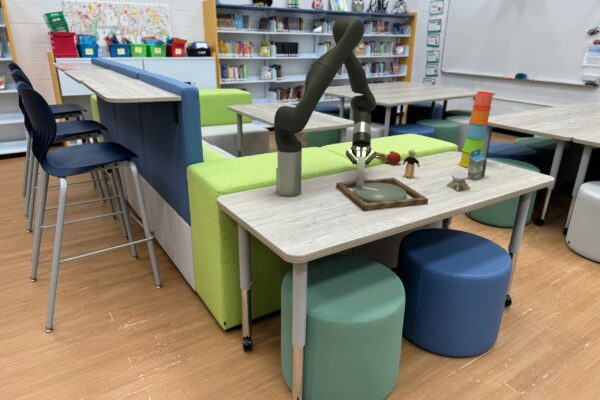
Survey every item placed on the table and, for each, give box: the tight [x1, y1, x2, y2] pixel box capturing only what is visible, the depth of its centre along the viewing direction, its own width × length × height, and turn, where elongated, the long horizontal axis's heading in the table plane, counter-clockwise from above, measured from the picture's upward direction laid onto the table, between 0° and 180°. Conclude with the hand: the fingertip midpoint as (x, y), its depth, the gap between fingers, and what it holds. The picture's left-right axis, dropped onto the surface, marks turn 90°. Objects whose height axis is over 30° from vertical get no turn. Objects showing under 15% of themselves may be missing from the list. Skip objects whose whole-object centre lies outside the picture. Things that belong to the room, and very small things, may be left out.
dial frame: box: [335, 177, 429, 212], centre depth 165 cm, size 26×26×2 cm
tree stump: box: [446, 170, 471, 192], centre depth 174 cm, size 10×9×6 cm
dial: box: [353, 157, 408, 203], centre depth 163 cm, size 20×20×14 cm
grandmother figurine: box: [401, 148, 421, 179], centre depth 185 cm, size 8×4×13 cm, turn 68°
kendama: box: [373, 150, 402, 166], centre depth 210 cm, size 8×6×18 cm
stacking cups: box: [458, 90, 494, 168], centre depth 199 cm, size 10×10×35 cm
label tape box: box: [467, 149, 488, 181], centre depth 185 cm, size 9×4×12 cm, turn 131°
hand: (360, 172), depth 170 cm, fingers closed
